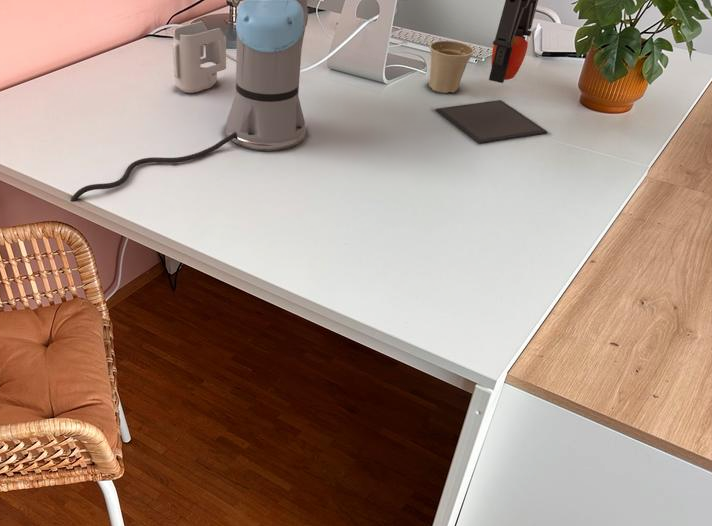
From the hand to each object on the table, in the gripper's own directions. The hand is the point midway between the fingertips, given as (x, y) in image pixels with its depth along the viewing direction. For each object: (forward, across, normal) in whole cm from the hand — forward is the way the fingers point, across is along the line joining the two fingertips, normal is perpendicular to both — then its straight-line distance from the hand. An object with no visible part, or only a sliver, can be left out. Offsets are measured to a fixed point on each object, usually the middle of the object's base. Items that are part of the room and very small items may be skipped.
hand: (502, 75), depth 137 cm
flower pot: (+10, +10, +15) cm, 20 cm away
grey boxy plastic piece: (+9, -22, +57) cm, 62 cm away
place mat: (+9, 0, 0) cm, 9 cm away
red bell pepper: (+1, 0, 0) cm, 1 cm away
